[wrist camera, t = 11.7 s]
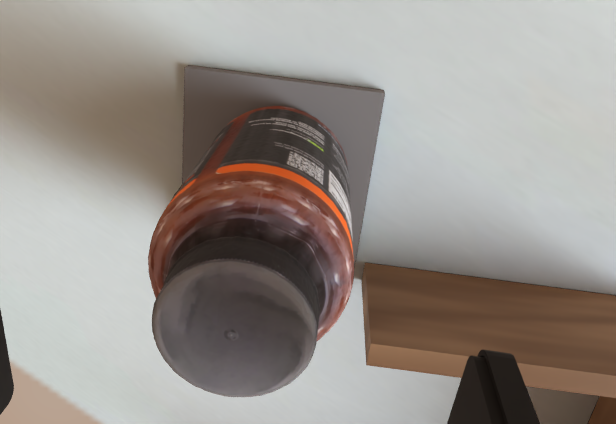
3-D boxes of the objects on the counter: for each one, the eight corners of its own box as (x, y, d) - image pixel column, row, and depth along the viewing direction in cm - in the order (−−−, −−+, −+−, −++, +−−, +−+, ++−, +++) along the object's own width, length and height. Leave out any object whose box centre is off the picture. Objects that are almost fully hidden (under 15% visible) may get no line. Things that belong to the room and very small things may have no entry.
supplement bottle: (214, 232, 24) (121, 424, 14) (205, 100, 22) (83, 216, 12) (347, 236, 24) (351, 436, 14) (353, 103, 22) (362, 224, 11)
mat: (188, 65, 22) (184, 67, 21) (383, 90, 22) (384, 93, 21) (184, 238, 25) (181, 245, 25) (354, 261, 25) (354, 267, 25)
